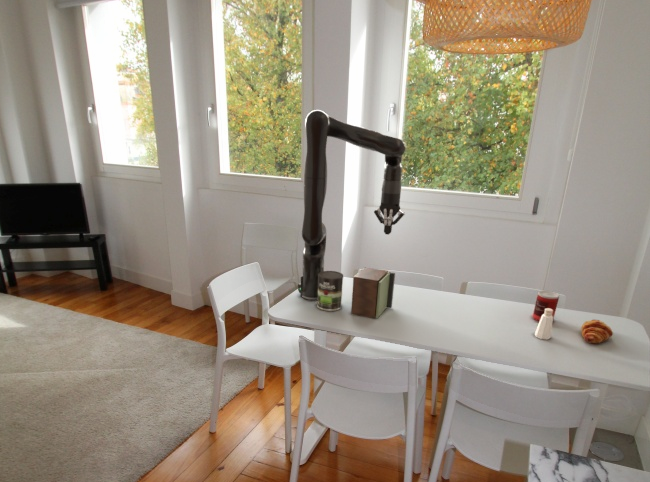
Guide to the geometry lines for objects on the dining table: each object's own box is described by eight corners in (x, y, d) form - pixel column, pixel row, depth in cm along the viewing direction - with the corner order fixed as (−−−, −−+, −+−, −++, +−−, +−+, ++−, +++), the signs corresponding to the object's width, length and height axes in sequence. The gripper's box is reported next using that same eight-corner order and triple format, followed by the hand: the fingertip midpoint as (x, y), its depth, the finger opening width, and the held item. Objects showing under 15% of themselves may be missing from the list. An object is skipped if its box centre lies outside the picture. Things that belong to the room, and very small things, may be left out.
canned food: (552, 317, 191) (559, 292, 187) (553, 324, 185) (559, 298, 180) (532, 314, 194) (538, 289, 190) (531, 321, 188) (538, 295, 183)
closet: (384, 306, 198) (388, 270, 191) (374, 318, 186) (378, 280, 180) (362, 302, 202) (364, 267, 195) (351, 314, 190) (353, 276, 183)
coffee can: (336, 312, 191) (338, 280, 185) (313, 308, 194) (314, 276, 189) (344, 304, 200) (346, 272, 194) (322, 300, 203) (323, 269, 197)
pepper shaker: (549, 341, 171) (556, 313, 167) (533, 337, 174) (540, 310, 169) (551, 335, 175) (558, 308, 171) (535, 332, 178) (542, 305, 173)
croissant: (589, 333, 186) (583, 314, 185) (618, 329, 179) (612, 309, 178) (578, 351, 170) (572, 330, 170) (609, 347, 164) (603, 325, 163)
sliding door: (391, 307, 197) (395, 272, 191) (381, 319, 185) (385, 283, 179) (385, 305, 198) (389, 272, 192) (375, 317, 186) (378, 282, 180)
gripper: (409, 191, 188) (405, 234, 195) (378, 188, 193) (374, 230, 200) (405, 194, 182) (400, 237, 189) (372, 191, 187) (369, 234, 194)
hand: (387, 234), depth 195 cm, fingers closed
